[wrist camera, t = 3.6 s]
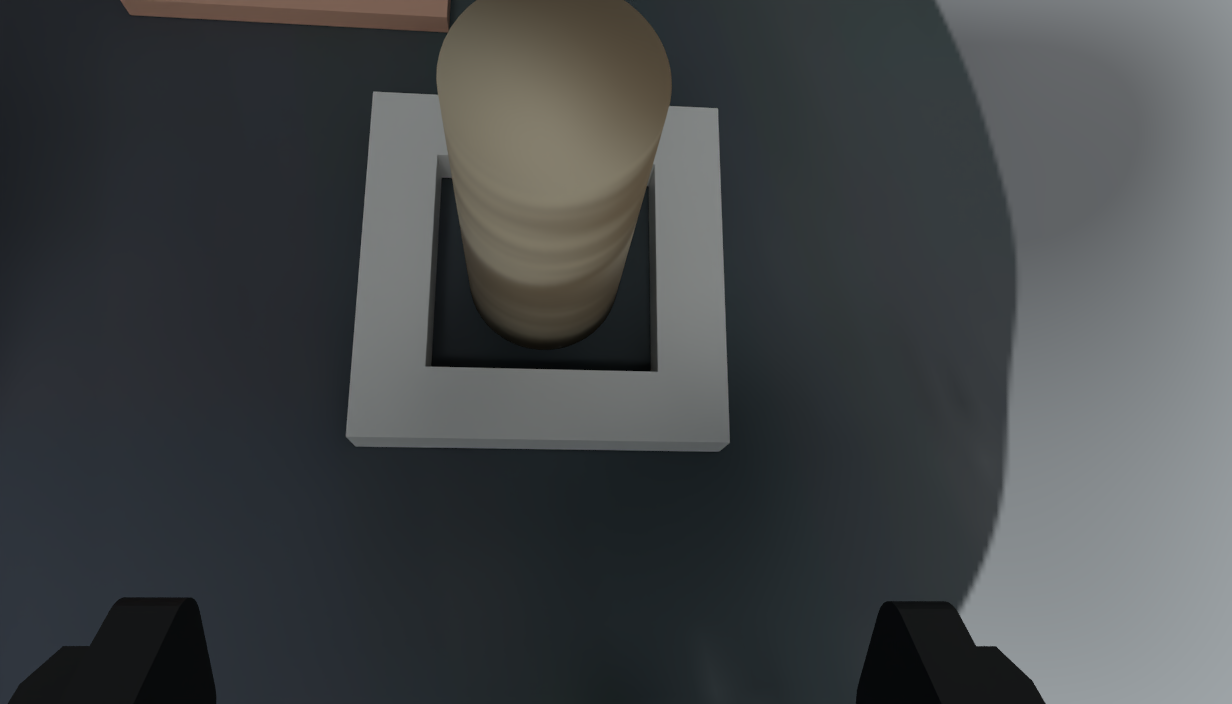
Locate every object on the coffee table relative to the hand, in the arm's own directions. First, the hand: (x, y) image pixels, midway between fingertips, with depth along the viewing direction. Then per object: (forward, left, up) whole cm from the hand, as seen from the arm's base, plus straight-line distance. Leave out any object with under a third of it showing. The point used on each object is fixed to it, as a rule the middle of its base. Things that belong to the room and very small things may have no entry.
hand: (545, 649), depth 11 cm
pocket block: (+8, +7, -15) cm, 18 cm away
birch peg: (+8, +7, -15) cm, 18 cm away
